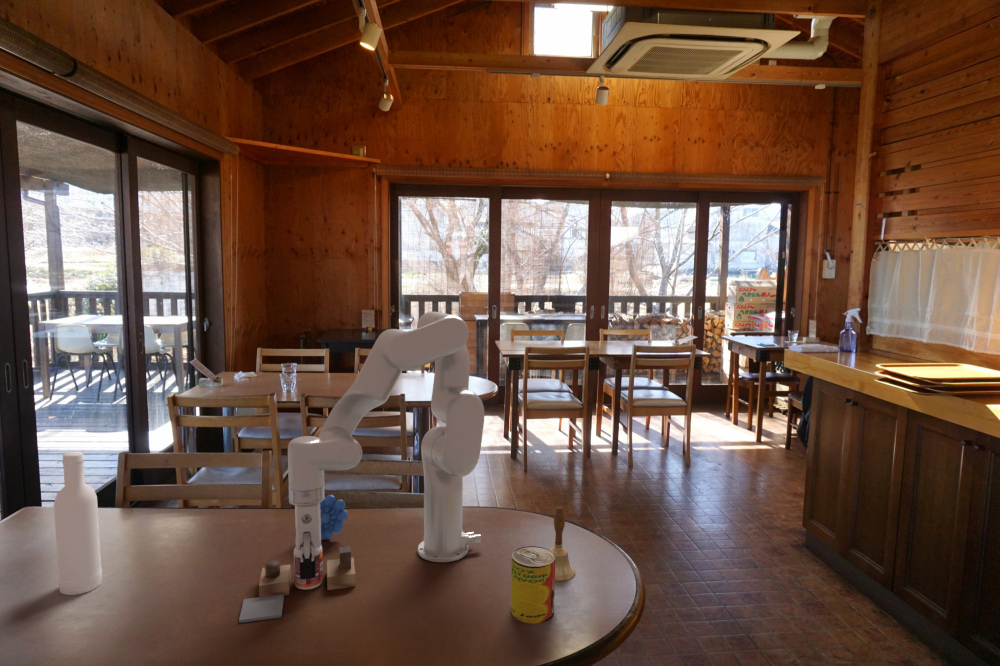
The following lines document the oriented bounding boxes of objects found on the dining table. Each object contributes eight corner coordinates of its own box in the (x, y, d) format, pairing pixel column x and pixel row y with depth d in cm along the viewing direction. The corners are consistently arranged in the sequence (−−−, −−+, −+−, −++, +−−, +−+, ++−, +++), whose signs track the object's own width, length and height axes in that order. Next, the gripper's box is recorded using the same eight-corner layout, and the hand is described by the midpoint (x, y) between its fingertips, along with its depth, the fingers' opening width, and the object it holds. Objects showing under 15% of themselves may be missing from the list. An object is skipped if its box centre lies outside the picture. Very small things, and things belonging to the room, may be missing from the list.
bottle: (98, 573, 142) (90, 445, 138) (106, 586, 136) (99, 454, 133) (55, 586, 136) (46, 453, 133) (63, 600, 131) (53, 461, 127)
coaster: (283, 596, 133) (283, 594, 133) (281, 617, 125) (281, 614, 125) (243, 601, 131) (243, 599, 131) (239, 622, 123) (238, 620, 123)
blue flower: (351, 531, 166) (351, 488, 164) (346, 543, 159) (346, 498, 158) (307, 532, 165) (306, 488, 163) (300, 543, 158) (299, 498, 157)
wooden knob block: (353, 569, 145) (353, 540, 145) (355, 586, 138) (355, 556, 137) (262, 580, 140) (261, 550, 139) (259, 598, 132) (258, 567, 131)
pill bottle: (326, 585, 138) (325, 537, 137) (298, 593, 134) (297, 543, 133) (318, 574, 143) (317, 527, 142) (291, 581, 140) (289, 533, 138)
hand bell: (582, 572, 146) (584, 507, 144) (560, 585, 140) (562, 517, 138) (554, 560, 151) (556, 497, 150) (532, 572, 145) (533, 506, 143)
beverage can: (541, 628, 123) (542, 571, 122) (502, 614, 128) (503, 558, 126) (561, 607, 130) (562, 553, 129) (524, 595, 135) (525, 542, 134)
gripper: (324, 506, 129) (326, 584, 131) (324, 478, 146) (325, 548, 148) (286, 510, 127) (288, 589, 129) (290, 481, 144) (292, 551, 146)
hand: (308, 567), depth 138 cm, fingers open, 9 cm apart
